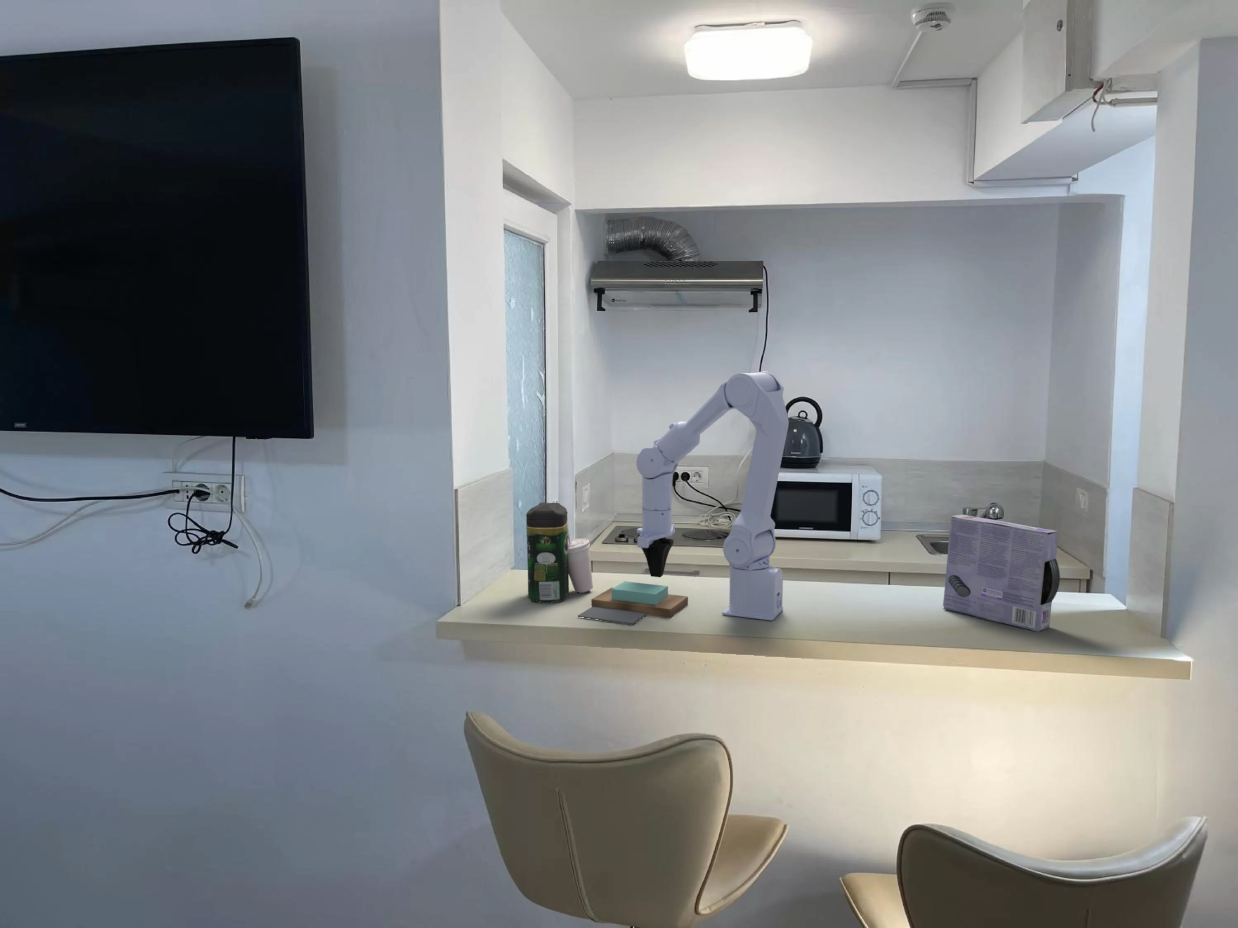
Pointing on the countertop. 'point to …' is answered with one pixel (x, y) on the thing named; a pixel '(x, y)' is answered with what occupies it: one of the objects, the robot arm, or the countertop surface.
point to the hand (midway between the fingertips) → (656, 576)
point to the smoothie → (579, 564)
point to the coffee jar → (547, 553)
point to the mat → (613, 615)
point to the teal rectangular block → (640, 592)
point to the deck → (643, 604)
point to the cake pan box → (1001, 571)
